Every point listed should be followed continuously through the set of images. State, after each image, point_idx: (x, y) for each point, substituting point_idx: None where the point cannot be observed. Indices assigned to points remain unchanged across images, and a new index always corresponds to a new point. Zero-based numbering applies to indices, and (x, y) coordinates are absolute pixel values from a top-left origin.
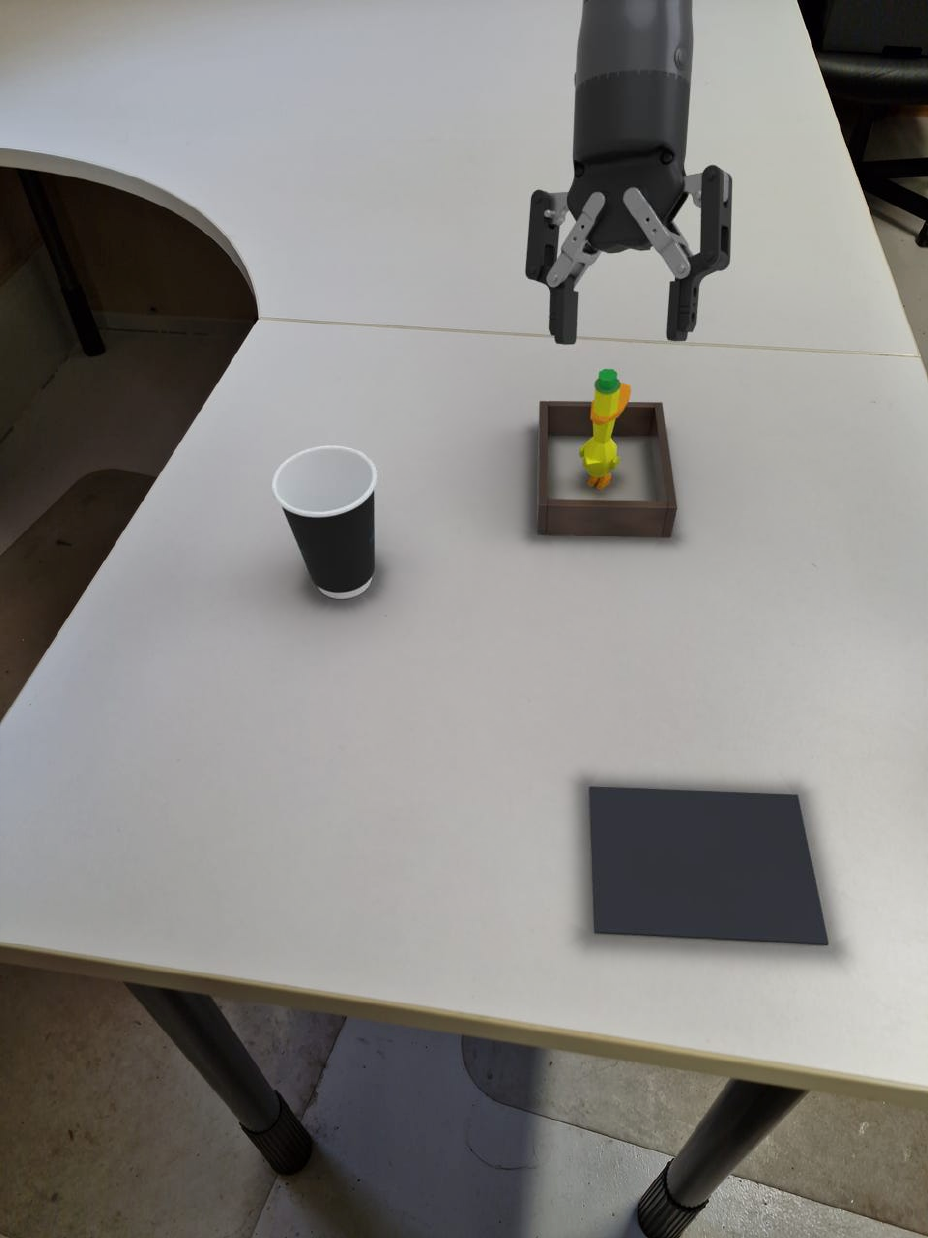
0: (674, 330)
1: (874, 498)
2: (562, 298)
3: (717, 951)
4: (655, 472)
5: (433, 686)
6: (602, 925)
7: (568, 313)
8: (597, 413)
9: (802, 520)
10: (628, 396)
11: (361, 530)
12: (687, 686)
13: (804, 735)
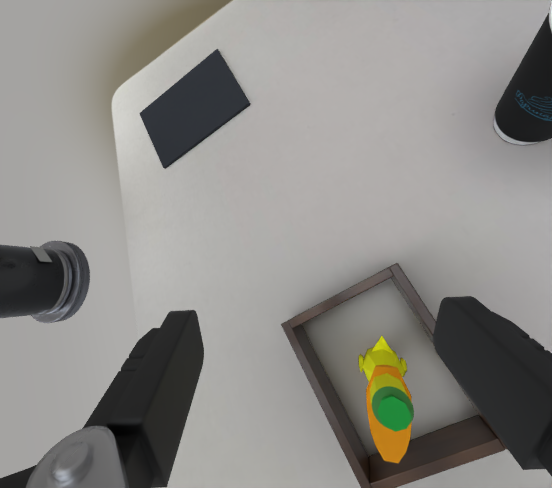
0: (169, 315)
1: None
2: (535, 372)
3: (174, 82)
4: (334, 392)
5: (371, 93)
6: (215, 53)
7: (486, 363)
8: (391, 375)
9: (212, 386)
10: (372, 429)
11: (528, 55)
12: (230, 196)
13: (170, 204)
